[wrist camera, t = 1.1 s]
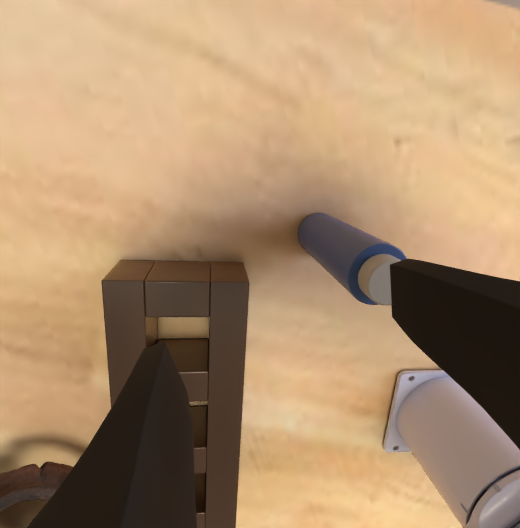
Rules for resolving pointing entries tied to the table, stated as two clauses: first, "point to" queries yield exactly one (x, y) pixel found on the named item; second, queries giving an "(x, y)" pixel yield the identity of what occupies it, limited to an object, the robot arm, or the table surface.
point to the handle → (351, 257)
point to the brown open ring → (31, 483)
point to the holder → (189, 359)
